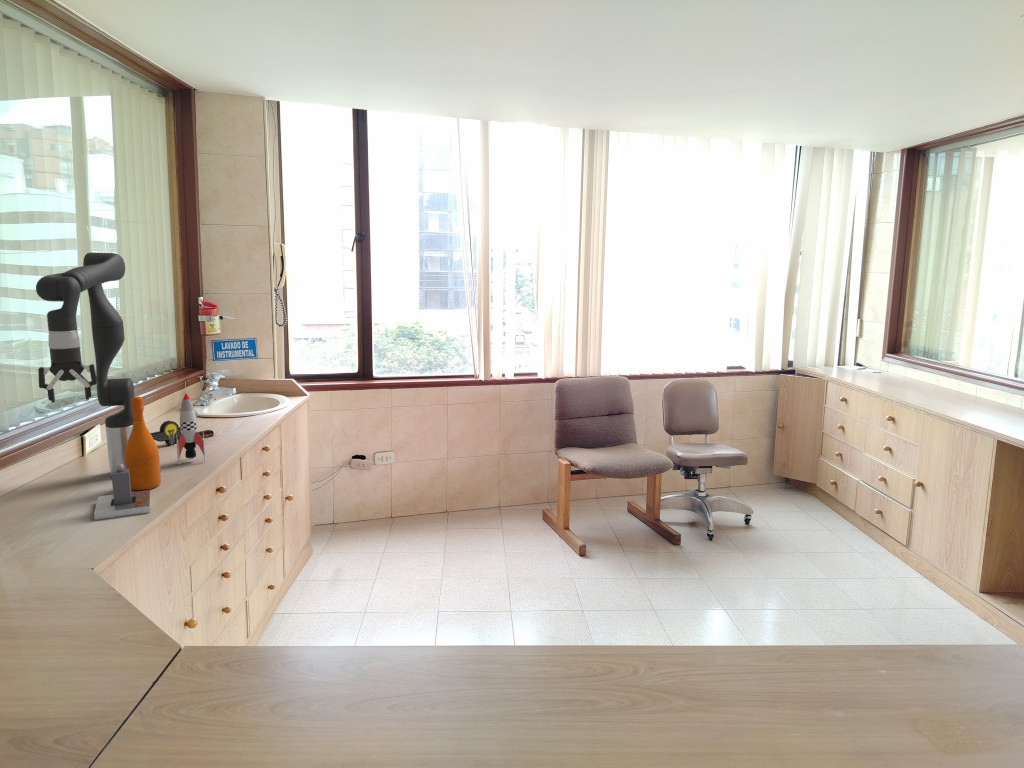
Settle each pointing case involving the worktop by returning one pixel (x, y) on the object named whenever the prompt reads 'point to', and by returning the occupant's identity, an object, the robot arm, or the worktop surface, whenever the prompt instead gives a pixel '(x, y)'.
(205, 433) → the decorative sign
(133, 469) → the wine bottle
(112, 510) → the socket
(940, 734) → the worktop surface
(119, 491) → the plug
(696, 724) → the worktop surface
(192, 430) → the toy
